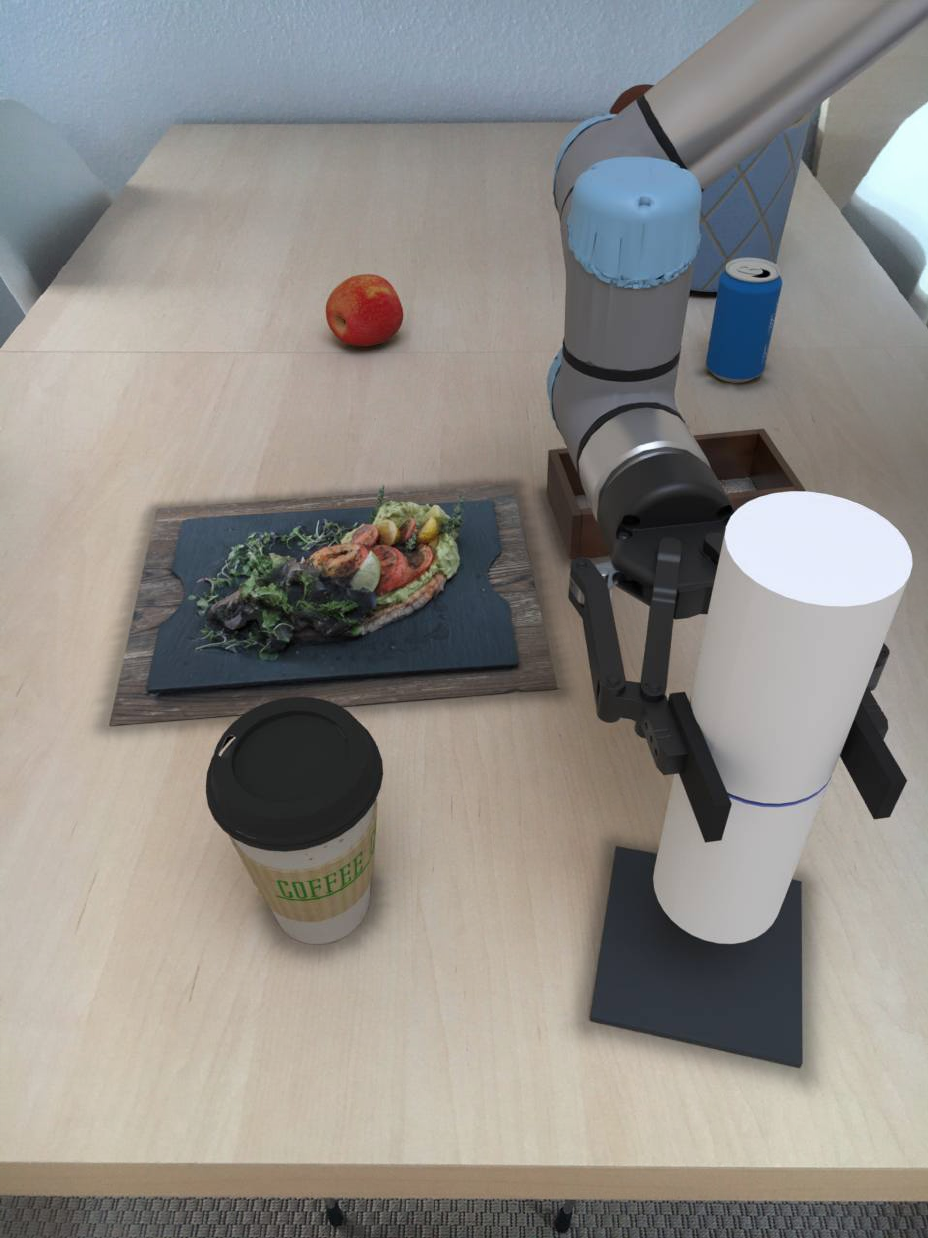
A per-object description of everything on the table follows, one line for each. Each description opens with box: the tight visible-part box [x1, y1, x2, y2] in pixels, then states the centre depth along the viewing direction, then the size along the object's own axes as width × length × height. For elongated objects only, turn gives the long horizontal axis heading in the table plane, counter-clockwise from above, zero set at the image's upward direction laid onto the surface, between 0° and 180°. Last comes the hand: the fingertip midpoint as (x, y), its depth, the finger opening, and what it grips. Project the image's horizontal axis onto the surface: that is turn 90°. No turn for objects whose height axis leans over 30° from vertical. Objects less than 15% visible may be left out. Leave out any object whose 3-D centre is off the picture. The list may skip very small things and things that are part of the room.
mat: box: [589, 845, 804, 1069], centre depth 61 cm, size 12×12×1 cm
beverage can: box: [705, 258, 783, 384], centre depth 108 cm, size 6×6×12 cm
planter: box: [690, 110, 812, 293], centre depth 124 cm, size 19×19×20 cm
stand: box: [545, 428, 807, 561], centre depth 91 cm, size 21×10×5 cm, turn 98°
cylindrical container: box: [653, 491, 914, 944], centre depth 48 cm, size 7×7×25 cm
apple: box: [325, 273, 404, 347], centre depth 116 cm, size 8×8×8 cm
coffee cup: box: [205, 697, 384, 945], centre depth 59 cm, size 10×10×15 cm
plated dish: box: [108, 483, 558, 726], centre depth 84 cm, size 35×28×7 cm
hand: (804, 811), depth 43 cm, fingers closed on cylindrical container, 7 cm apart
